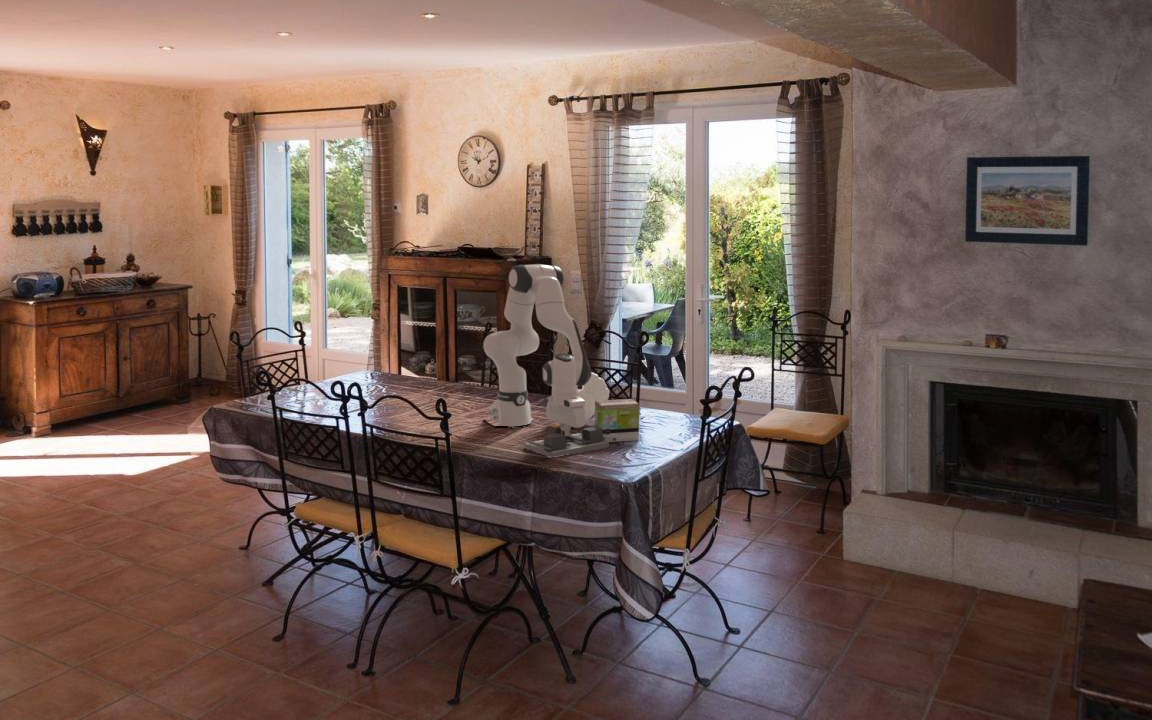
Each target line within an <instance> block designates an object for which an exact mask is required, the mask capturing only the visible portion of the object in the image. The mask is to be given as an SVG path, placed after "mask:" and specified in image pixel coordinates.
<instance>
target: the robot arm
mask: <svg viewBox="0 0 1152 720" xmlns="http://www.w3.org/2000/svg"><path fill="white" fill-rule="evenodd" d="M564 277H565V276H564V273H563V271H562V269H561V268H560V267H559V266H557V265H552V264H549V265H548V264H541V263H535V264H518V265H517V264H516V265H514V266H512V267H511V269H510V271H509V273H508V283H509V287H508V288H509V289H508V291H507V296H506V302H505V305H504V306H505V307H504V311H503V312H504V313H503V315H504V318H505V319H506V321H508V322H509V323H510V329H509V330H508V329H507V330H500V331H496V332H493V333H490V334H488V335H486V337H485V338H484V340H483V350H484V353H485V354H486V356H487V357H488V358H490V359H491V360H492V361H493V363H494V364H495V368H496V369H497V373H498V389H499V390H497V391H496V394H497V396H496V397H497V398H496V400H495V401H494V402H493V403H492V404H491V405H489V407H488V410H487V411H488V412H487V413H488V417H489V418H490V419H492V420H493V421H495V422H497V423H499V425H510V426H511V425H512V426H521V425H527V424H530V423H531V424H532V422H531V421H532V420H534V418H533V417H532V409H531V404H530V401H529V400H528V399H529V398H528V396H529V392H528V389H527V372H526V370H525V368H523V367H522V366H520V365H518V362H517V357H520V356H527V355H529V354H531V353H532V354H533V353H534V352H536V351H537V350H538V348H539V345H540V337H539V334H538V333H537V332H536V330H535V329H534V328H533V324H532V318H533V317H532V316H533V311H534V305H535V314H536V319H537V321H538V322H539V323H540V324H541V325H542V326H543V327H544V328H546V329H548V330H551V331H555V332H558V333H560V334H562V335H564V336H565V337H566V338H567V340H568V342H569V343H568V344H569V346H570V349H571V352H572V355H571V354H568V353H567V354H566V353H560V354H556V355H554V356H553V358H552V360H549V361H546V363H545V364H544V365H543V366H542V368H541V370H542V372H541V373H542V375H541V376H542V381H543V383H544V384H546V385H547V386H551V387H552V386H553V395H552V394H551V395H550V396H549V397H548V398H547V399H548V401H547V402H546V403H547V404H546V409H545V410H546V413H545V416H546V418H547V420H549V421H551V422H554V421H555V422H558V423H559V427H560V429H561V434H562V435H565V436H569V434H570V431H571V430H572V429H571V428H575V429H580V428H581V429H582V428H583V427H584V426H585V425H586V424H585V410H584V407H583V406H585V401H584V400H583V399H582V398H581V397H580V396H579V395H578V394H577V389H578V388H577V389H576V385H578V386H582V385H585V384H586V383H587V382H588V381H589V380H590V378H591V372H592V368H591V365H590V362H589V360H588V358H587V354H586V351H585V348H584V344H583V342H582V341H583V340H582V337H581V334H580V330H579V328H578V327H579V326H578V324H577V322H576V320H575V318H573V317H571V316H570V314H569V313H568V312H567V310H566V306H565V299H564V294H563V290H562V287H563V284H564V279H565V278H564ZM555 422H554V423H555ZM531 424H530V425H531ZM584 424H585V425H584ZM565 427H566V428H565Z"/></svg>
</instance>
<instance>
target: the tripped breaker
mask: <svg viewBox="0 0 1152 720" xmlns="http://www.w3.org/2000/svg"><path fill="white" fill-rule="evenodd" d="M565 428H566V427H565ZM556 433H559V434H561V429H560V427H559V423H558V424H557V423H554V424H553V423H552V424H549V425H547V435H550V434H556ZM541 440H544V439H543V437H542V438H541ZM572 440H573V439H570V438H569V436H566V442H567V441H572Z"/></svg>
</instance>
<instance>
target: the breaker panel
mask: <svg viewBox="0 0 1152 720" xmlns="http://www.w3.org/2000/svg"><path fill="white" fill-rule="evenodd" d="M542 438H543V439H541V440H535V441H533V440H530V439H527V440H526V443H523V448H524V447H526V448H529V449H532V450H534V451H537V452H540V453H543V454H545V455H548V456H550V457H552V456H559V455H566V454H573V453H578V454H580V453H579V452H583V453H586V452H585V451H588V452H592V451H591V450H593V451H597V450H596V449H598V450H602V449H607V448H609V447H610V442H607V441H604V440H605V437H603V429H602V428H599V427H595V425H594V426H589V427H584V428H583V427H582V428H581V430H580V431H579V433H574V434H570V433H569V438H570V439H573V440H572V441H567V442H566V436H565V435H562V434H559V433H556V434H550V435H548V434H546V435H544V436H543V437H542ZM573 455H574V454H573Z"/></svg>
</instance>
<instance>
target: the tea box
mask: <svg viewBox="0 0 1152 720" xmlns="http://www.w3.org/2000/svg"><path fill="white" fill-rule="evenodd" d="M594 426H595V427H599V428H602V429H603V437H605V440H604V441H607V442H609V443H616V442H617V443H618V442H638V441H639V439H640V403H638V402H637V401H636V400H634V399H632V398H627V399H626V398H625V399H611V400H609V399H608V400H605V401H595V413H594Z"/></svg>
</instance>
